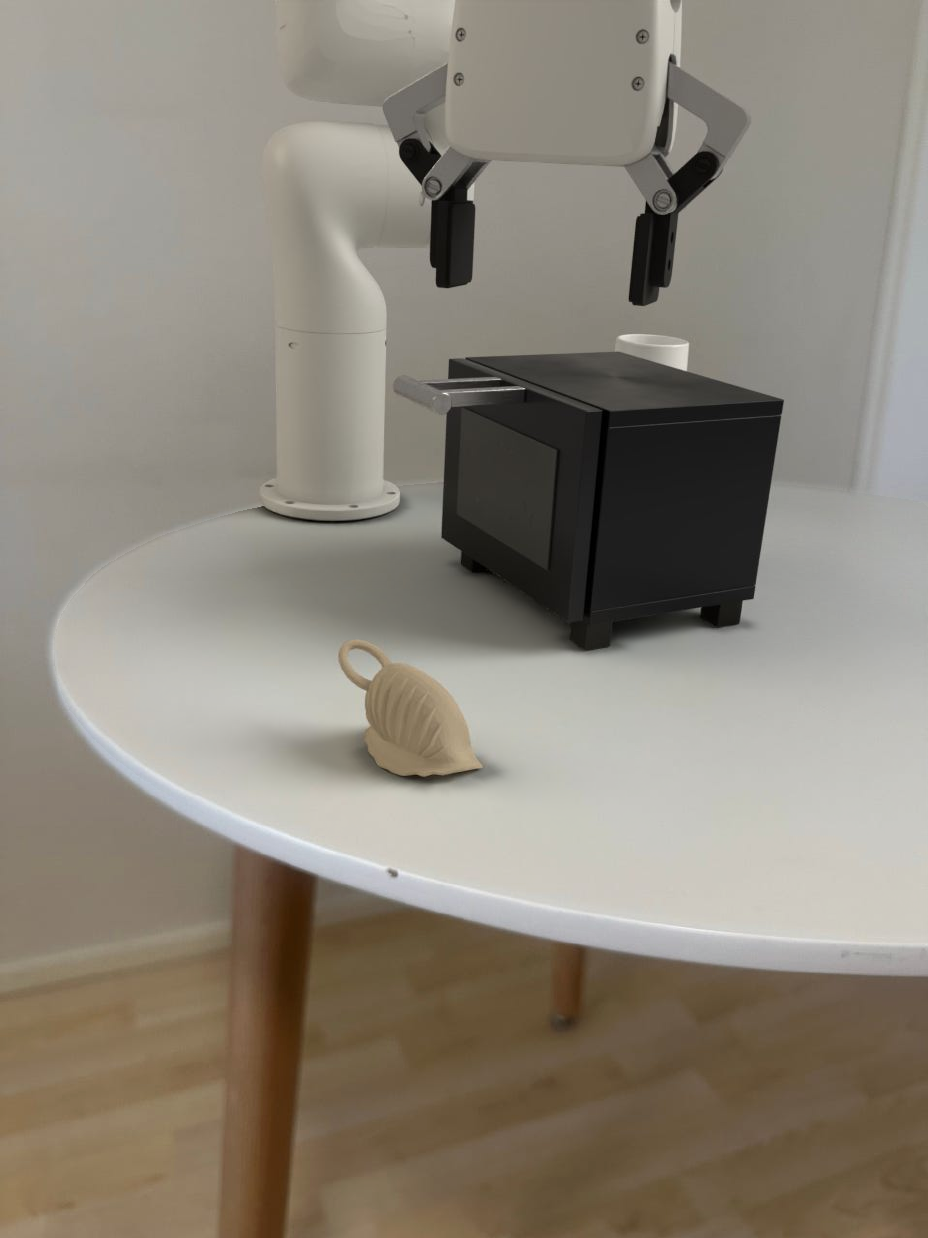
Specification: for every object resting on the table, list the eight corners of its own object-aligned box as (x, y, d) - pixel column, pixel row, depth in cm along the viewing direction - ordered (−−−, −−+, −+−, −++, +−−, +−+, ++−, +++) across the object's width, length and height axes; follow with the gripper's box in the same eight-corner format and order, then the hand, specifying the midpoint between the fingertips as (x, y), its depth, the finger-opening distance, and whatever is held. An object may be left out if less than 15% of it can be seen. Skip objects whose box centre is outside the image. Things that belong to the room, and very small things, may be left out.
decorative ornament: (427, 796, 58) (431, 700, 56) (326, 734, 63) (326, 644, 61) (485, 771, 60) (491, 678, 58) (383, 713, 66) (385, 627, 64)
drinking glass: (669, 512, 107) (689, 347, 101) (596, 504, 108) (612, 341, 102) (672, 493, 113) (691, 337, 107) (603, 486, 114) (618, 331, 108)
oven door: (468, 639, 71) (480, 414, 66) (354, 547, 86) (356, 359, 81) (583, 620, 74) (603, 406, 69) (454, 536, 89) (463, 355, 84)
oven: (586, 654, 75) (610, 410, 69) (455, 562, 91) (464, 357, 85) (749, 625, 81) (784, 399, 75) (600, 544, 97) (619, 351, 91)
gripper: (792, -106, 50) (738, 303, 56) (425, -95, 56) (414, 274, 62) (766, -149, 43) (709, 318, 50) (354, -131, 49) (350, 285, 55)
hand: (546, 294), depth 56 cm, fingers open, 9 cm apart
